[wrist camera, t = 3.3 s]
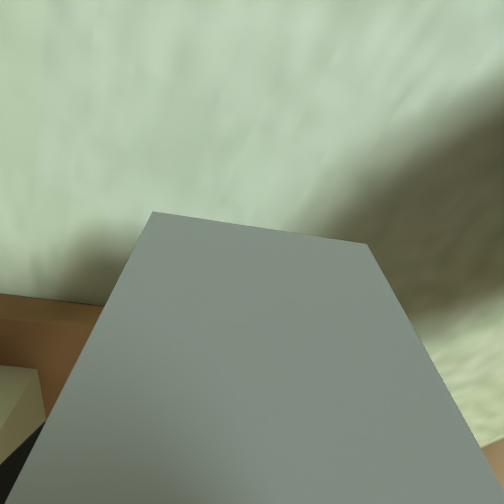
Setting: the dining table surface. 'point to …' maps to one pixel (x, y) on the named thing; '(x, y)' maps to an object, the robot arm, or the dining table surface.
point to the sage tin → (19, 407)
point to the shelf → (45, 338)
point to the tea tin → (253, 384)
